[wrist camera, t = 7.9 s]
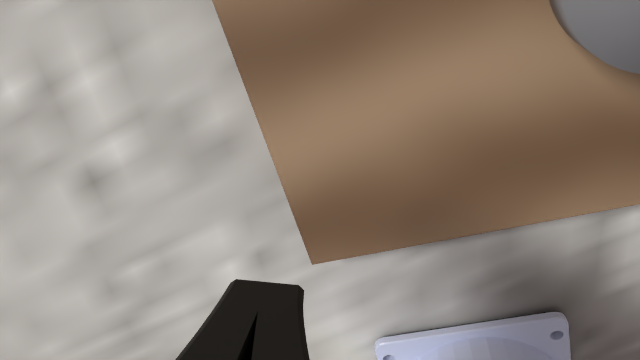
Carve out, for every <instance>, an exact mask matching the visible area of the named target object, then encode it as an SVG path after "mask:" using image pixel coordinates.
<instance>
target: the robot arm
mask: <svg viewBox="0 0 640 360" xmlns="http://www.w3.org/2000/svg"><path fill="white" fill-rule="evenodd" d="M303 299H304V290H303V289H302V288H301V287H300V286H299V285H291V284H280V283H270V282H259V281H248V280H238V279H236V280H234V281H233V282H231V283H230V285H229V286H228V288H227V289H226V291H225V293H224V294H223V296H222V297H221V299H220V300H219V302H218V303H217V305H216V306H215V308H214V309H213V311H212V312H211V314H210V315H209V316H208V318H207V319H206V321H205V322H204V323H203V325H202V326H201V327H200V329H199V330H198V332H197V333H196V334H195V336H194V337H193V338H192V339H191V341H190V342H189V343H188V344H187V346H186V347H185V348H184V350H183V351H182V352H181V353H180V355H179V356H178V357H177V358H176V360H309V354H308V349H307V343H306V335H305V328H304V317H303ZM555 331H557V332H555ZM552 332H554V333H552ZM375 354H376V357H377V360H571V352H570V337H569V324H568V321H567V319H566V317H565V315H564V314H562V313H560V312H548V313H541V314H534V315H528V316H521V317H515V318H508V319H501V320H495V321H488V322H481V323H475V324H468V325H461V326H455V327H448V328H441V329H435V330H428V331H422V332H415V333H408V334H402V335H395V336H388V337H383V338H380V339H378V340H377V341H376V342H375ZM386 355H391V356H386Z"/></svg>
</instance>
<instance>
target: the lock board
mask: <svg viewBox="0 0 640 360" xmlns="http://www.w3.org/2000/svg"><path fill="white" fill-rule="evenodd" d="M212 1H213V4H214V6H215V9H216V12H217V14H218V17H219V19H220V22H221V25H222V27H223V30H224V33H225V35H226V38H227V41H228V43H229V46H230V49H231V51H232V54H233V57H234V59H235V62H236V64H237V67H238V70H239V72H240V75H241V78H242V80H243V83H244V86H245V88H246V91H247V94H248V96H249V99H250V102H251V104H252V107H253V109H254V112H255V115H256V117H257V120H258V123H259V125H260V128H261V131H262V133H263V136H264V139H265V141H266V144H267V146H268V149H269V152H270V154H271V157H272V160H273V162H274V165H275V168H276V170H277V173H278V176H279V178H280V181H281V184H282V186H283V189H284V191H285V194H286V197H287V199H288V202H289V205H290V207H291V210H292V213H293V215H294V218H295V221H296V223H297V226H298V229H299V231H300V234H301V236H302V239H303V242H304V244H305V247H306V250H307V252H308V255H309V258H310V260H311V263H312V265H313V264H318V263H324V262H329V261H335V260H340V259H345V258H351V257H356V256H362V255H367V254H372V253H378V252H383V251H389V250H394V249H399V248H405V247H410V246H416V245H421V244H427V243H432V242H437V241H443V240H448V239H454V238H459V237H464V236H470V235H475V234H481V233H486V232H491V231H497V230H502V229H508V228H513V227H518V226H524V225H529V224H535V223H540V222H545V221H551V220H556V219H562V218H567V217H573V216H578V215H583V214H589V213H594V212H600V211H605V210H610V209H616V208H621V207H627V206H632V205H637V204H640V74H638V73H631V72H628V71H624V70H621V69H617V68H615V67H613V66H611V65H609V64H607V63H605V62H603V61H602V60H600V59H599V58H598V57H596V56H595V55H593V54H592V53H590V52H589V51H587V50H586V49H585V48H583V47H582V46H580V45H579V44H578V43H576V42H575V41H574V40H573V39H572V38H571V37H570V36H569V35H567V34H566V32H565V31H564V30H563V28H562V27H561V26H560V24H559V23H558V21H557V19H556V17H555V15H554V13H553V11H552V8H551V5H550V2H549V0H212Z"/></svg>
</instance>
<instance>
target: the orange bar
mask: <svg viewBox="0 0 640 360" xmlns="http://www.w3.org/2000/svg"><path fill="white" fill-rule="evenodd" d="M549 2H550V5H551V8H552V11H553V13H554V15H555V17H556V19H557V21H558V23H559V24H560V26H561V27H562V28H563V30H564V31H565V32H566V34H567V35H569V36H570V37H571V38H572V39H573V40H574V41H575V42H576V43H578V44H579V45H580V46H582V47H583V48H585V49H586V50H587V51H589V52H590V53H592V54H593V55H595V56H596V57H598V58H599V59H600V60H602V61H603V62H605V63H607V64H609V65H611V66H613V67H615V68H617V69H621V70H624V71H628V72H631V73H638V74H640V0H549Z"/></svg>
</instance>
